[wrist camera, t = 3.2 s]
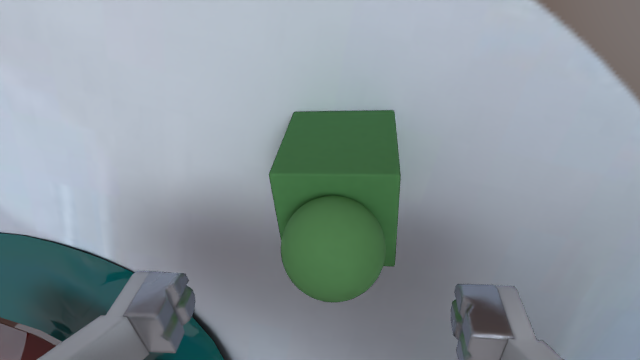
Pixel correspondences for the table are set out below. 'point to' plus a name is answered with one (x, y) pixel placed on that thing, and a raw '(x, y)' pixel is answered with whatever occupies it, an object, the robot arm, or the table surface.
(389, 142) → the green toy
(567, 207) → the table surface
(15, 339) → the boat on round base
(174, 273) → the robot arm
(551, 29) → the table surface
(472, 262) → the table surface
